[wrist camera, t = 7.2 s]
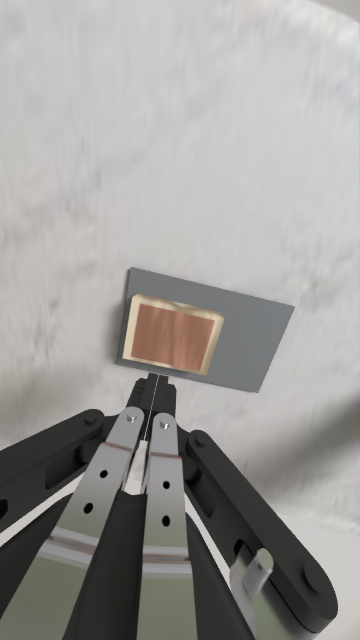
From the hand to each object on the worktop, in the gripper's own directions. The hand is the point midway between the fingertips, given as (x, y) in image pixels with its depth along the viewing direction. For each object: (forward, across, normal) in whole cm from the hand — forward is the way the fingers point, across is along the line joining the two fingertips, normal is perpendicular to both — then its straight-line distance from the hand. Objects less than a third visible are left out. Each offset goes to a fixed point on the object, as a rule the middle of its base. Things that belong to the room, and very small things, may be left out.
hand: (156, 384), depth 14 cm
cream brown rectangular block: (+10, -6, 0) cm, 12 cm away
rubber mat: (+12, -5, 0) cm, 13 cm away
